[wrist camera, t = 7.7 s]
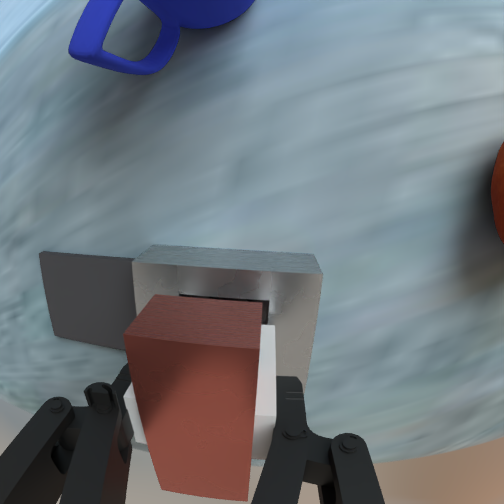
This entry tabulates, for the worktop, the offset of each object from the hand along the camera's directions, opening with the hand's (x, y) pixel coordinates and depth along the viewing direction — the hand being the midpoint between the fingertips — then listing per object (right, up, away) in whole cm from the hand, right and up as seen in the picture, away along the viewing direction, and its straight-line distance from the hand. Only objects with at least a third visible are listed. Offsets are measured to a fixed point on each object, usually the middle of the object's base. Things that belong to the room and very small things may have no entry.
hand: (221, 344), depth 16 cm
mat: (-10, +1, +5) cm, 11 cm away
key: (0, +1, +3) cm, 3 cm away
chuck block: (0, +1, +4) cm, 4 cm away
